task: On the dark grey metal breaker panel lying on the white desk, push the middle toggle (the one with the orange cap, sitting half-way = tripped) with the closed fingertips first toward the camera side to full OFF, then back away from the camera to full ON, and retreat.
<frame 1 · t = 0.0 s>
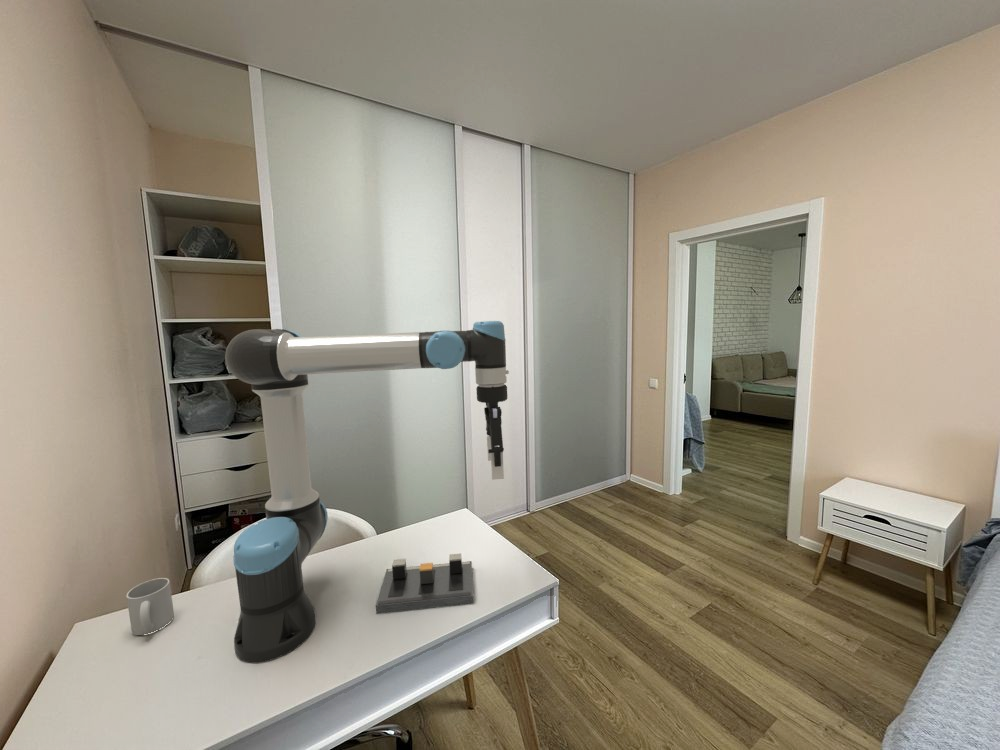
hand: (495, 468, 100), 28 cm above the table, fingers open, 13 cm apart
cup: (152, 629, 88), on the table
tripped toggle: (426, 573, 98), point 4 cm above the table, slide at 0.0 cm
panel: (427, 589, 98), on the table
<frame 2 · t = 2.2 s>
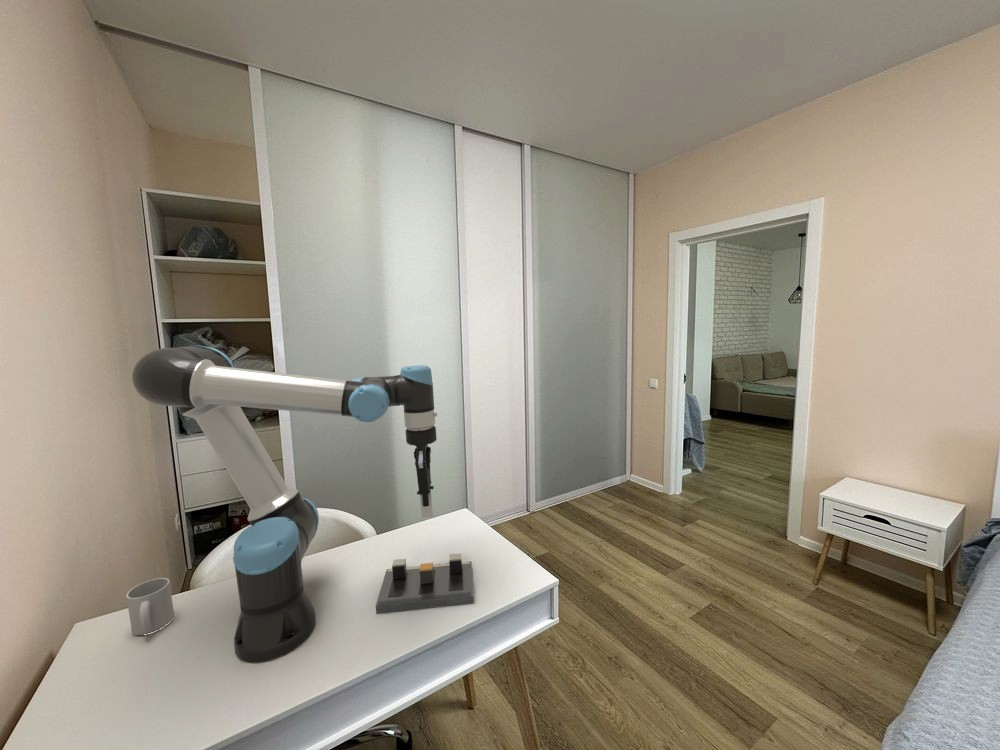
hand: (427, 515, 103), 15 cm above the table, fingers closed
nothing on the table moved.
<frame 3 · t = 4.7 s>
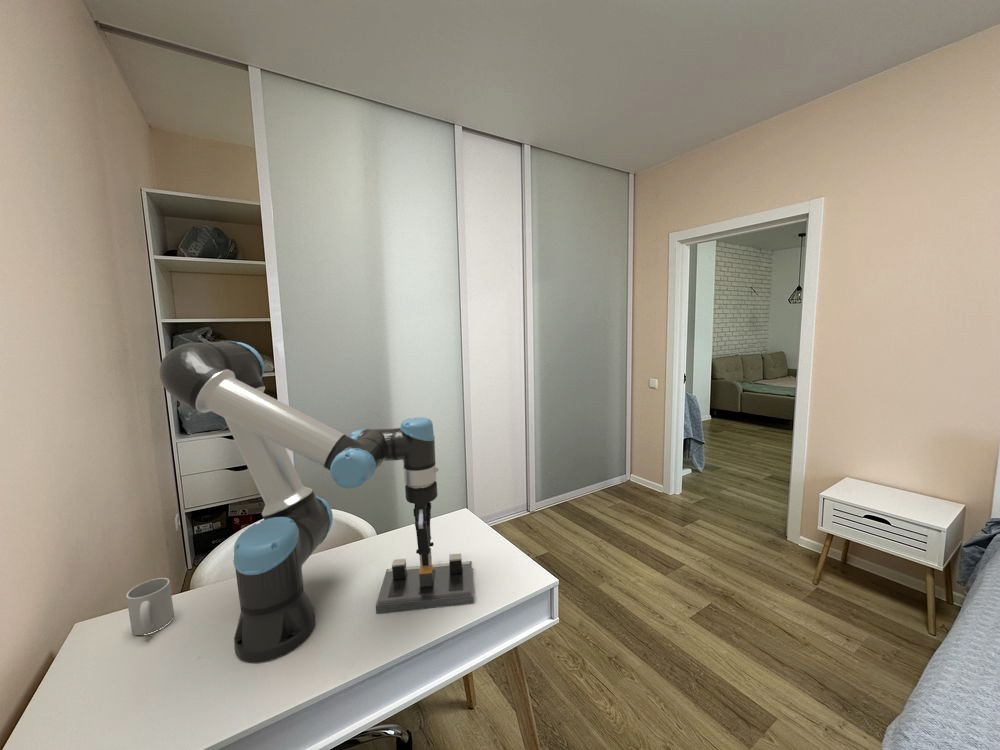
hand: (426, 574, 99), 3 cm above the table, fingers closed
tripped toggle: (426, 576, 96), point 4 cm above the table, slide at -1.2 cm, touching gripper
everything else where it was.
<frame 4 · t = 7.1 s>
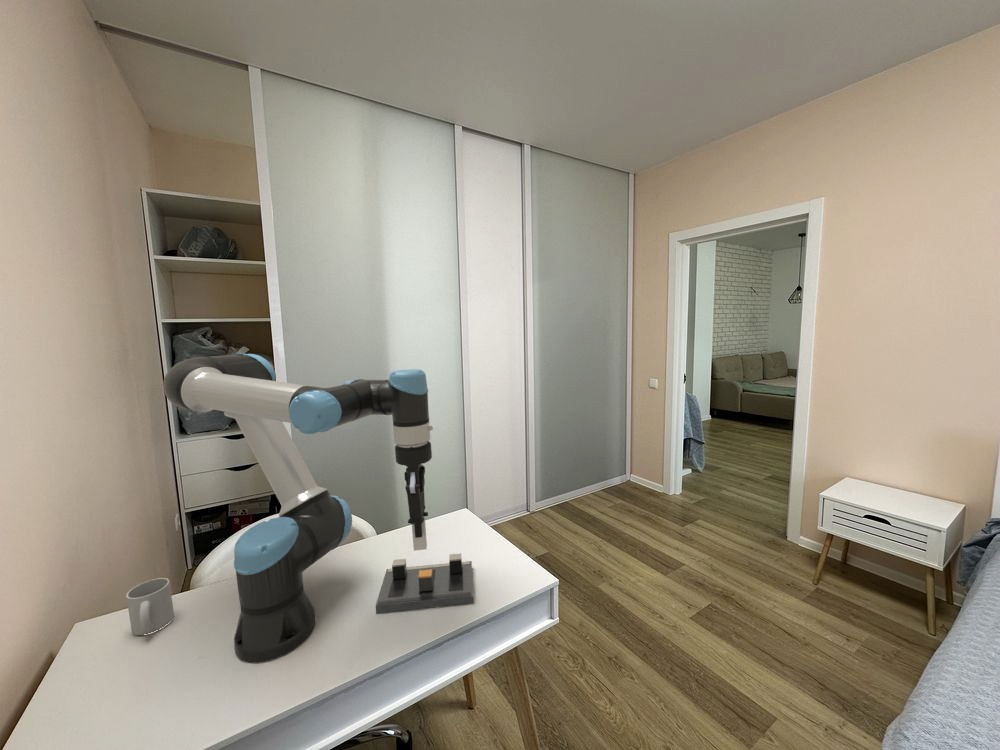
hand: (420, 548, 87), 16 cm above the table, fingers closed
tripped toggle: (425, 580, 95), point 4 cm above the table, slide at -2.8 cm
everything else where it was.
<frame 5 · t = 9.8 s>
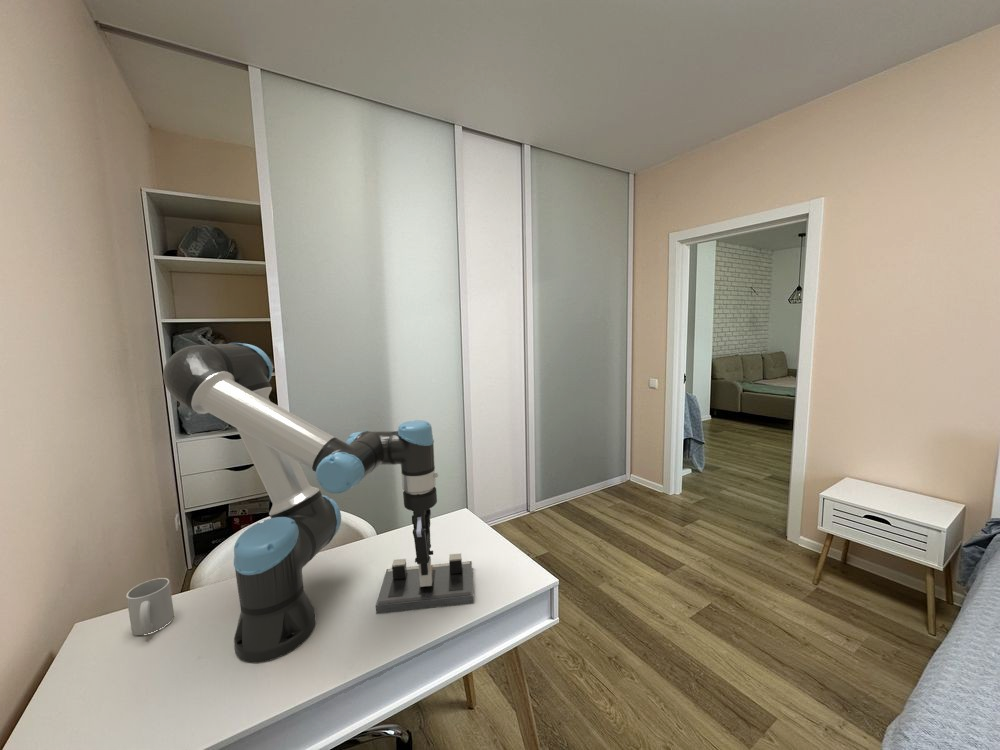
hand: (426, 584, 95), 3 cm above the table, fingers closed
tripped toggle: (426, 576, 96), point 4 cm above the table, slide at -1.2 cm, touching gripper
everything else where it was.
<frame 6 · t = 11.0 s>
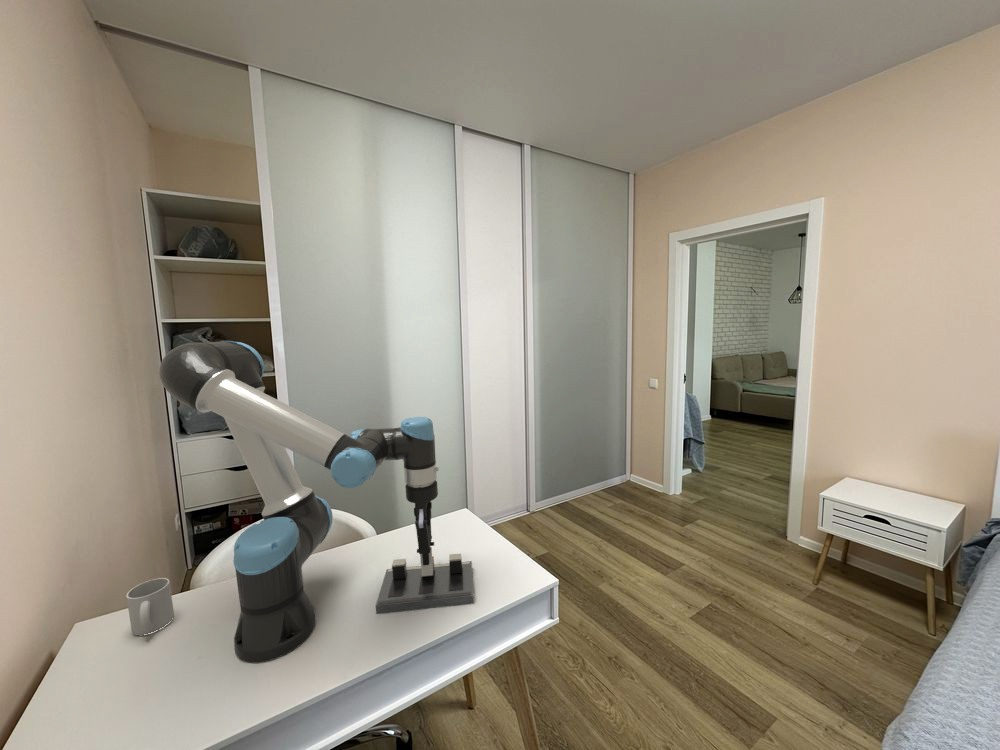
hand: (427, 573, 99), 3 cm above the table, fingers closed
tripped toggle: (427, 566, 100), point 4 cm above the table, slide at 2.8 cm, touching gripper
everything else where it was.
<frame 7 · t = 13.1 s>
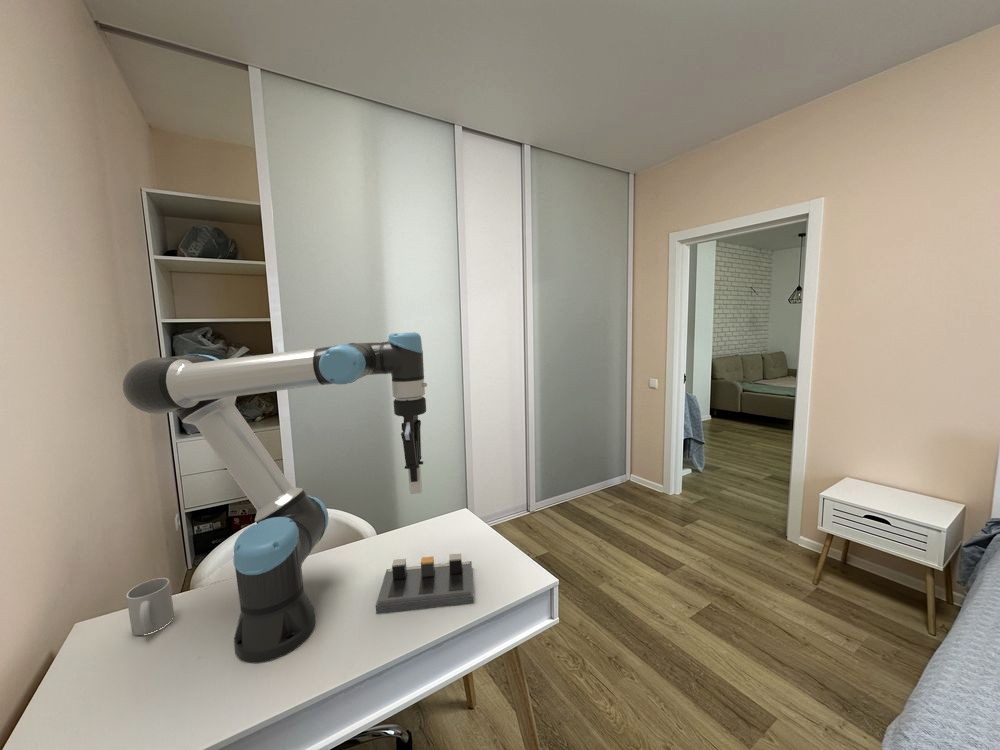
hand: (416, 492, 98), 24 cm above the table, fingers closed
tripped toggle: (427, 566, 100), point 4 cm above the table, slide at 2.8 cm
everything else where it was.
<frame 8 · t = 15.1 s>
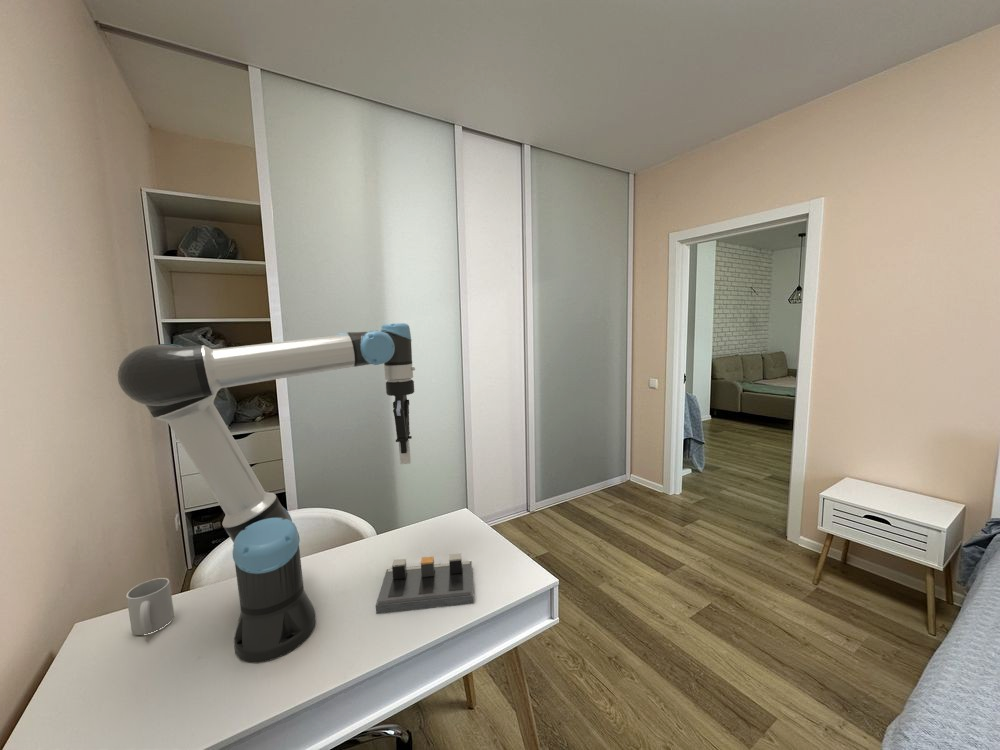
hand: (405, 463, 112), 26 cm above the table, fingers closed
nothing on the table moved.
at the end: tripped toggle slide at 2.8 cm; tripped toggle touching nothing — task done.
